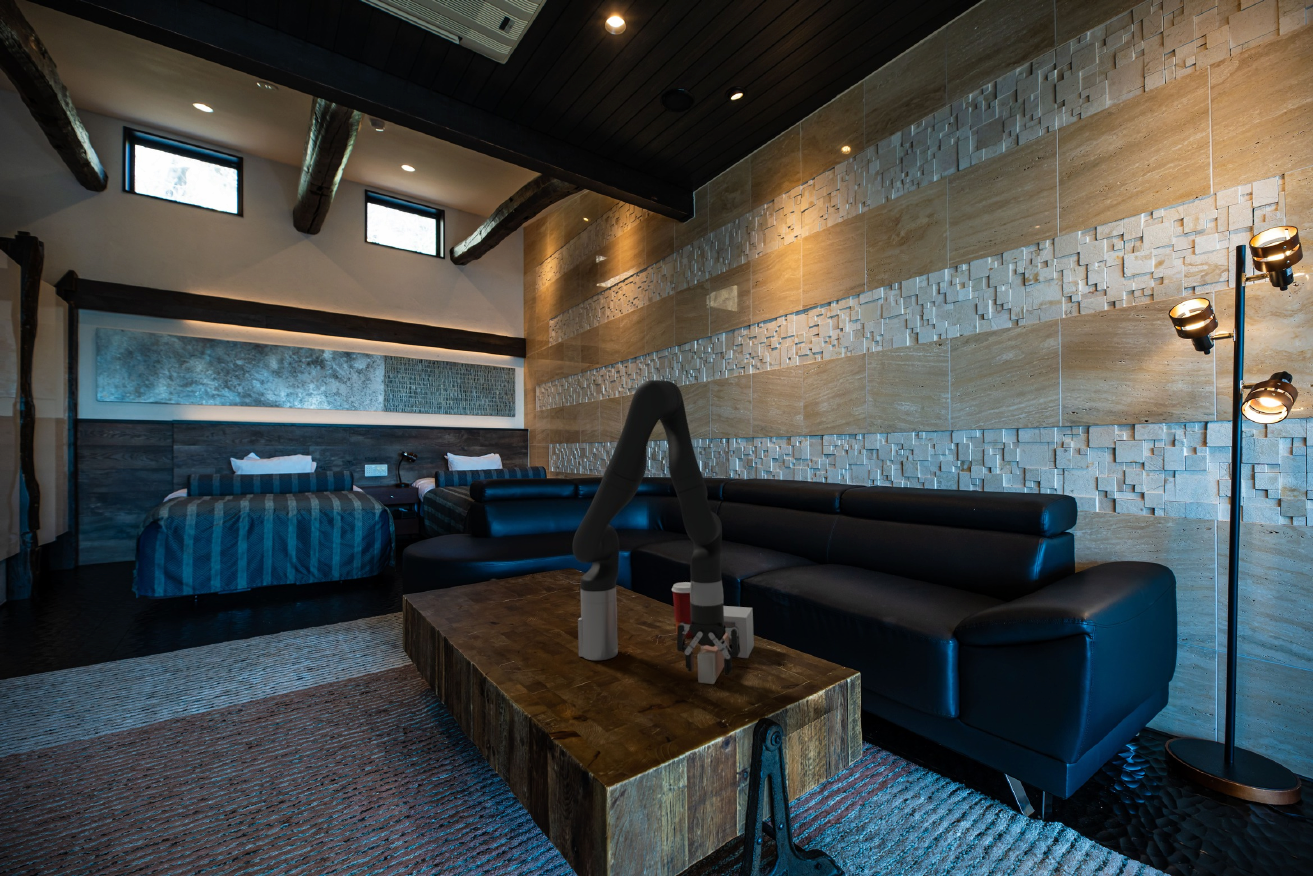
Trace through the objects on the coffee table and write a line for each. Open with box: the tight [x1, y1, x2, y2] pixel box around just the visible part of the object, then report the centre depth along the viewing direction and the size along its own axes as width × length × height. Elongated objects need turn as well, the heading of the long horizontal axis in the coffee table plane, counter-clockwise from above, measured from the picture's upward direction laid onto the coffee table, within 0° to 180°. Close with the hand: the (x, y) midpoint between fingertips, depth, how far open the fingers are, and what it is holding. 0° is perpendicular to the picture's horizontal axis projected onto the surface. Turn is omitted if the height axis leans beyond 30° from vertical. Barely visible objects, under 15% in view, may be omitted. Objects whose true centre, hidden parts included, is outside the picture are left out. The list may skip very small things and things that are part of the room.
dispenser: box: [700, 605, 755, 659], centre depth 141 cm, size 12×10×10 cm
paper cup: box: [671, 581, 694, 639], centre depth 154 cm, size 8×8×14 cm
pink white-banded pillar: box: [696, 633, 730, 685], centre depth 128 cm, size 4×16×6 cm, turn 160°
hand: (709, 672), depth 123 cm, fingers open, 8 cm apart
